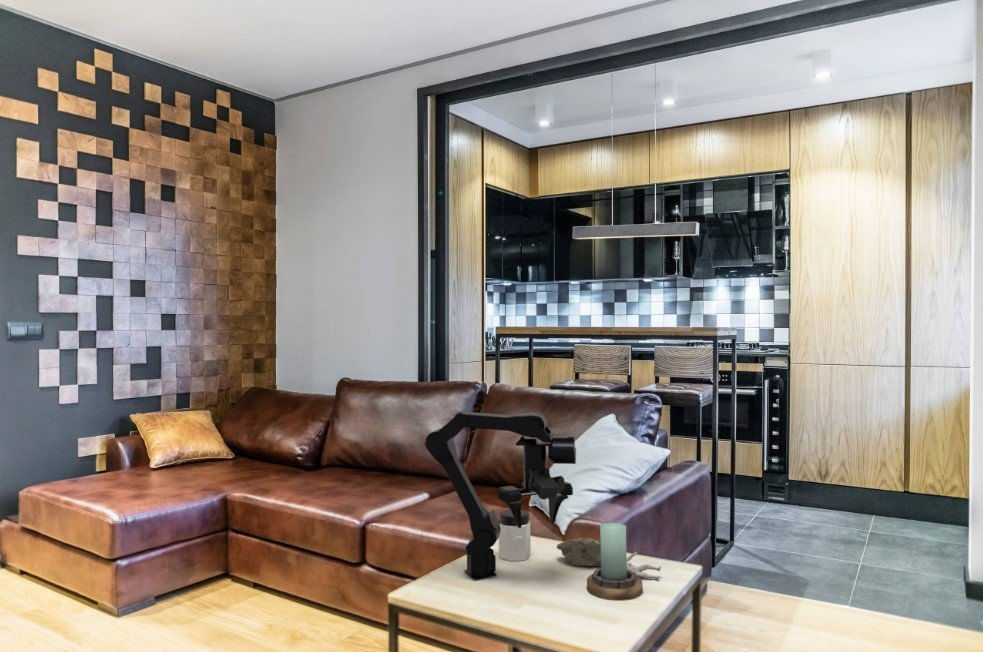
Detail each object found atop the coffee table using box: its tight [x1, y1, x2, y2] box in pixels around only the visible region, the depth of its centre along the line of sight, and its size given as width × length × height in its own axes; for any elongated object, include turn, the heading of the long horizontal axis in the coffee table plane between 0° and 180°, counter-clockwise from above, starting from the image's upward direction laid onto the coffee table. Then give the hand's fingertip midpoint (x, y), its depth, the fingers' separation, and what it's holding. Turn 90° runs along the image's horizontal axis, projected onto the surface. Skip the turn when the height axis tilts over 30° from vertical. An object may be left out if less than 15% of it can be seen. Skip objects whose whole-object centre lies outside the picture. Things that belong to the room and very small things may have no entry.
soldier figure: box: [626, 551, 662, 580], centre depth 166 cm, size 8×5×12 cm
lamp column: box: [599, 522, 628, 581], centre depth 158 cm, size 6×6×13 cm
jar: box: [498, 508, 532, 562], centre depth 183 cm, size 9×8×12 cm
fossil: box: [556, 537, 601, 567], centre depth 177 cm, size 14×10×10 cm
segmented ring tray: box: [586, 568, 643, 601], centre depth 158 cm, size 13×13×4 cm
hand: (536, 525), depth 167 cm, fingers open, 9 cm apart
